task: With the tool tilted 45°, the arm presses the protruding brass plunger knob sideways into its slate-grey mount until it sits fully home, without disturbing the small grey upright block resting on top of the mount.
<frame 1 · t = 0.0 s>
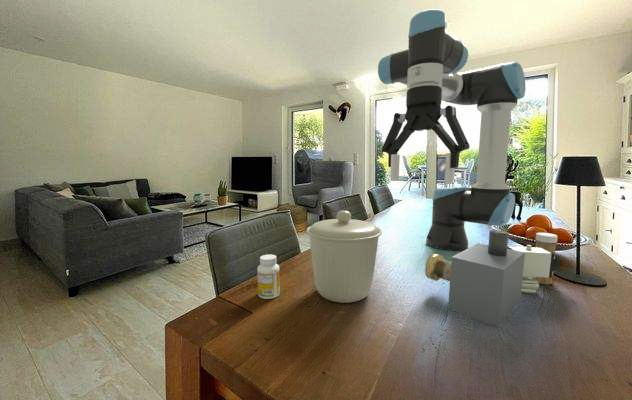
hand: (419, 182, 68), 28 cm above the table, tool pointing down, fingers open, 13 cm apart
sprinkles bottle: (541, 282, 79), on the table
pneumatic valve: (523, 290, 74), on the table
grey upright block: (497, 253, 65), point 12 cm above the table, touching mount
supplement bottle: (269, 295, 71), on the table
canister: (342, 294, 72), on the table
mount: (482, 307, 65), on the table
knob: (450, 270, 69), point 6 cm above the table, slide at 5.0 cm
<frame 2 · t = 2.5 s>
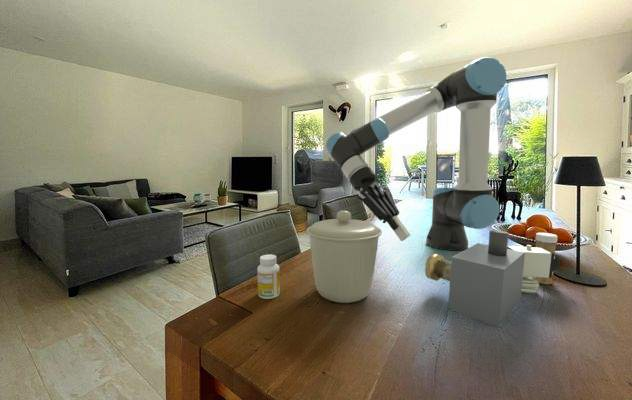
hand: (405, 238, 77), 12 cm above the table, tool tilted 45°, fingers closed
nothing on the table moved.
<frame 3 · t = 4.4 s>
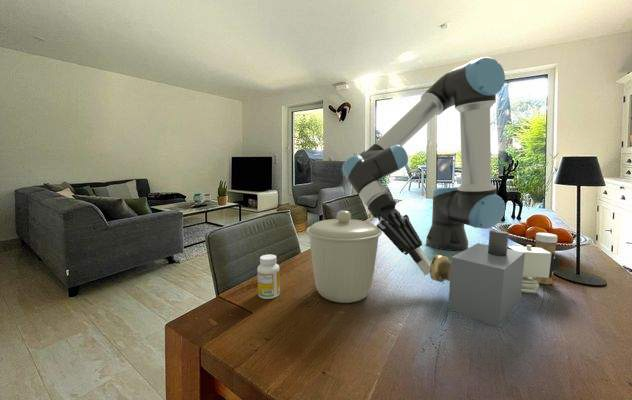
hand: (429, 271, 73), 5 cm above the table, tool tilted 45°, fingers closed
knob: (455, 272, 68), point 6 cm above the table, slide at 3.8 cm, touching gripper
everything else where it was.
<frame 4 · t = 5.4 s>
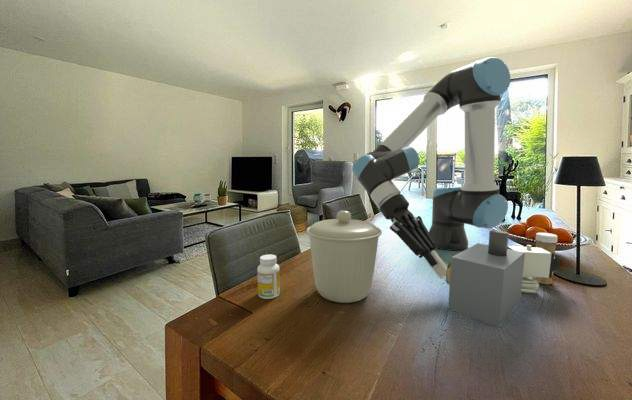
hand: (445, 275, 70), 5 cm above the table, tool tilted 45°, fingers closed
knob: (472, 277, 66), point 6 cm above the table, slide at -0.1 cm, touching gripper
everything else where it was.
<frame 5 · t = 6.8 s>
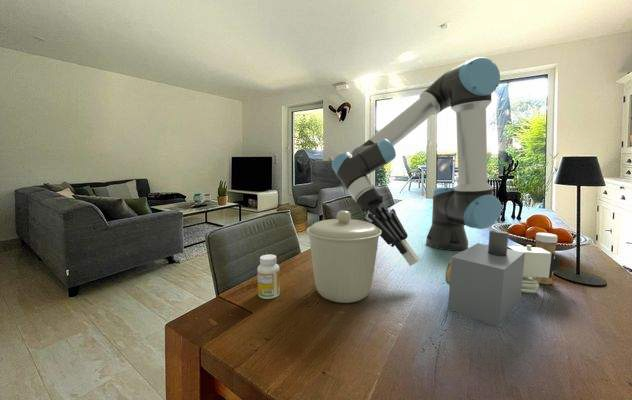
hand: (414, 262, 76), 6 cm above the table, tool tilted 45°, fingers closed
knob: (472, 277, 66), point 6 cm above the table, slide at 0.0 cm
everything else where it was.
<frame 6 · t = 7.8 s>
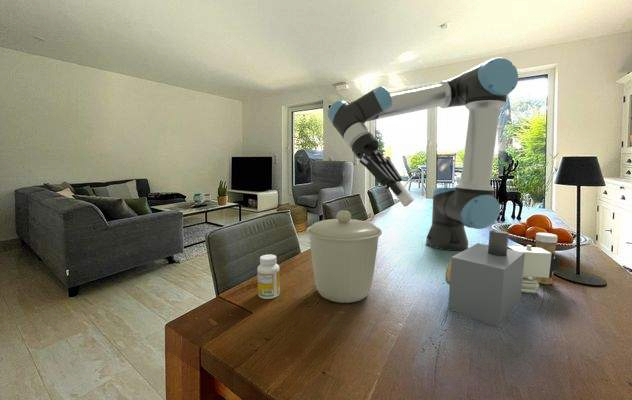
hand: (409, 203, 76), 22 cm above the table, tool tilted 45°, fingers closed
nothing on the table moved.
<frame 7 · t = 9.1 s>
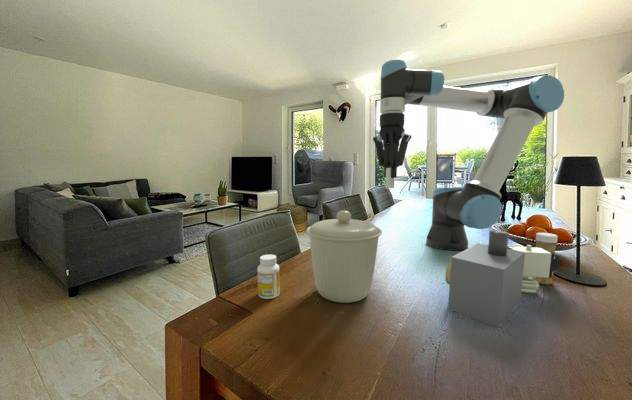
hand: (389, 187, 94), 24 cm above the table, tool pointing down, fingers closed
nothing on the table moved.
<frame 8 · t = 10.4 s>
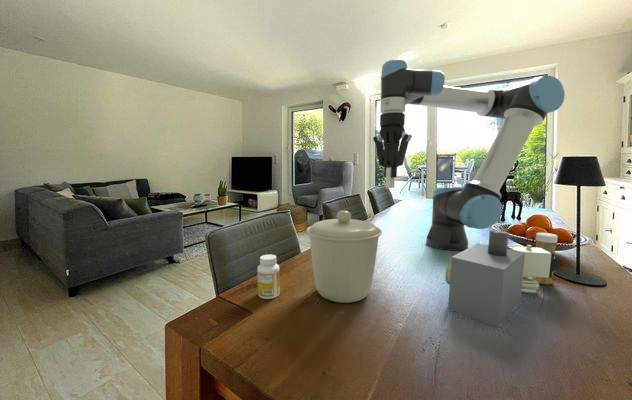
hand: (389, 187, 94), 24 cm above the table, tool pointing down, fingers closed
nothing on the table moved.
at the end: knob slide at 0.0 cm; grey upright block moved 0.0 cm from its start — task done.
